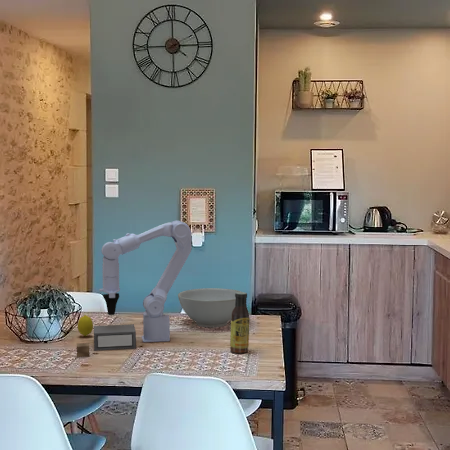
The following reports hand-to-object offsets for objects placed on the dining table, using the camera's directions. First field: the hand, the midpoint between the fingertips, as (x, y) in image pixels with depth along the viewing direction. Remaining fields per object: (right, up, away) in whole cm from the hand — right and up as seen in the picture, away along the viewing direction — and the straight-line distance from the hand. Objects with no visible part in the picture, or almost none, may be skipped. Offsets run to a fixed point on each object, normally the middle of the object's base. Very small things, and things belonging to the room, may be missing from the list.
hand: (111, 314), depth 228 cm
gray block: (+2, -10, -4) cm, 11 cm away
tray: (+2, -9, -4) cm, 10 cm away
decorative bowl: (+35, -8, +29) cm, 46 cm away
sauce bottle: (+45, -11, -10) cm, 48 cm away
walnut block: (-6, -11, -16) cm, 20 cm away
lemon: (-11, -9, +9) cm, 17 cm away
